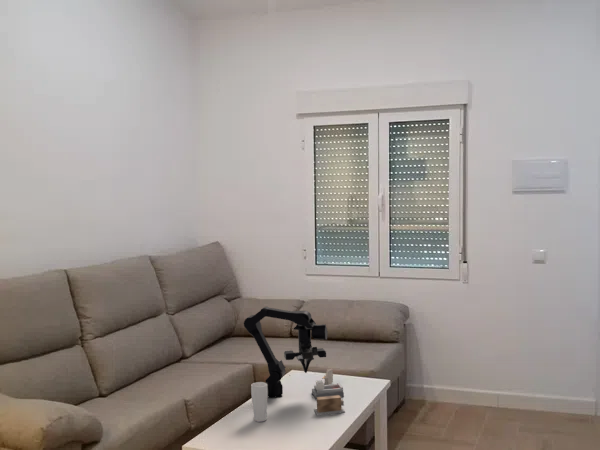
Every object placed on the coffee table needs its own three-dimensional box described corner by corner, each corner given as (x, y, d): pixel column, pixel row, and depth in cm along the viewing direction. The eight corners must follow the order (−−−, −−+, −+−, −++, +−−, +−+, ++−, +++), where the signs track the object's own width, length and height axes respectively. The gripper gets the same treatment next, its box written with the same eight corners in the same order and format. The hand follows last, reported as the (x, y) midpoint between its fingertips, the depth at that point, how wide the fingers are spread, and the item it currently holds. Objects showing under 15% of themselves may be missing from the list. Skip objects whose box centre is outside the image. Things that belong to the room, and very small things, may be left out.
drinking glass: (256, 424, 249) (254, 388, 248) (249, 419, 255) (248, 383, 254) (271, 420, 252) (270, 385, 251) (264, 415, 258) (263, 380, 257)
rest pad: (317, 415, 256) (317, 413, 256) (314, 410, 262) (314, 408, 262) (345, 412, 259) (344, 411, 259) (341, 407, 264) (341, 406, 264)
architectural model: (321, 385, 297) (321, 370, 296) (327, 381, 303) (327, 366, 303) (328, 386, 295) (327, 371, 295) (333, 382, 302) (333, 367, 301)
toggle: (317, 392, 279) (317, 383, 279) (316, 389, 283) (315, 380, 282) (324, 391, 279) (324, 382, 279) (322, 389, 283) (322, 380, 283)
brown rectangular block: (318, 412, 258) (318, 399, 258) (316, 409, 261) (316, 397, 261) (344, 409, 260) (343, 397, 260) (342, 407, 263) (341, 394, 263)
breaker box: (315, 399, 276) (315, 390, 276) (311, 392, 285) (311, 384, 285) (343, 396, 278) (343, 388, 278) (338, 390, 287) (338, 382, 287)
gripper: (287, 344, 269) (288, 379, 270) (328, 341, 272) (329, 376, 273) (283, 338, 280) (284, 372, 281) (323, 336, 283) (324, 369, 284)
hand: (305, 372), depth 279 cm, fingers closed
